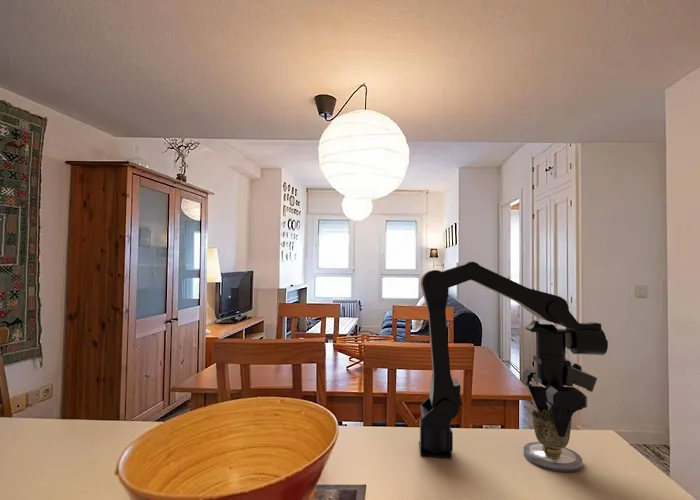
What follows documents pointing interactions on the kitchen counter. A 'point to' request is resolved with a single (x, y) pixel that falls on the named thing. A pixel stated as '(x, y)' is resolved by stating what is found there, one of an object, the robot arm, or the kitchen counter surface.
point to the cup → (549, 433)
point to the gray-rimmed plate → (553, 458)
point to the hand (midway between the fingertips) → (552, 427)
